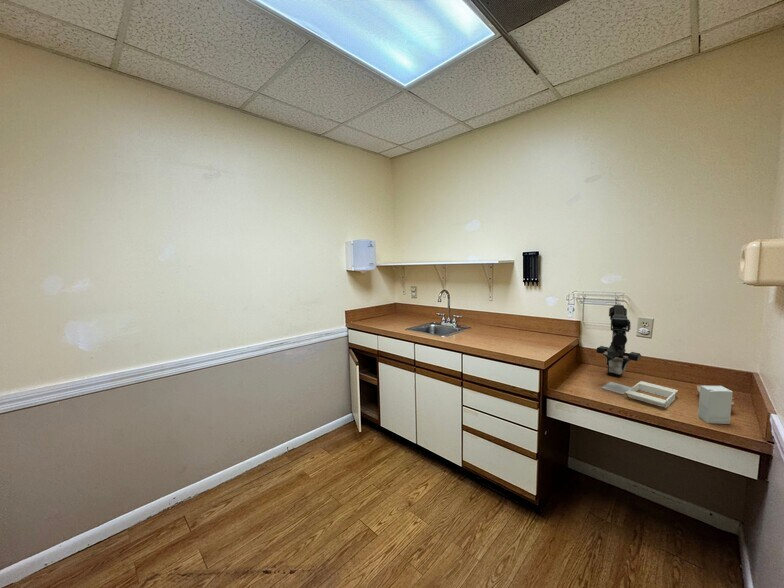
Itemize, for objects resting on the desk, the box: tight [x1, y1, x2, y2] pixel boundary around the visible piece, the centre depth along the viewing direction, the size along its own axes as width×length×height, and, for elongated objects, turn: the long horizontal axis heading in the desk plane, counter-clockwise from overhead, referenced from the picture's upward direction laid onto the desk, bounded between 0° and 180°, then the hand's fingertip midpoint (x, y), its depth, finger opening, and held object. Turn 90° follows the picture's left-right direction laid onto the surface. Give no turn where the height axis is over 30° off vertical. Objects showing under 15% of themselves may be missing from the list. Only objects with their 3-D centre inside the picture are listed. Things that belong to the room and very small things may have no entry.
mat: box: [600, 381, 632, 395], centre depth 169 cm, size 10×12×1 cm
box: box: [609, 357, 628, 374], centre depth 168 cm, size 5×9×6 cm, turn 126°
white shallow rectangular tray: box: [624, 380, 679, 409], centre depth 157 cm, size 15×22×4 cm
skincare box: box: [697, 385, 734, 425], centre depth 134 cm, size 8×6×15 cm
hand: (617, 368), depth 167 cm, fingers closed on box, 5 cm apart
